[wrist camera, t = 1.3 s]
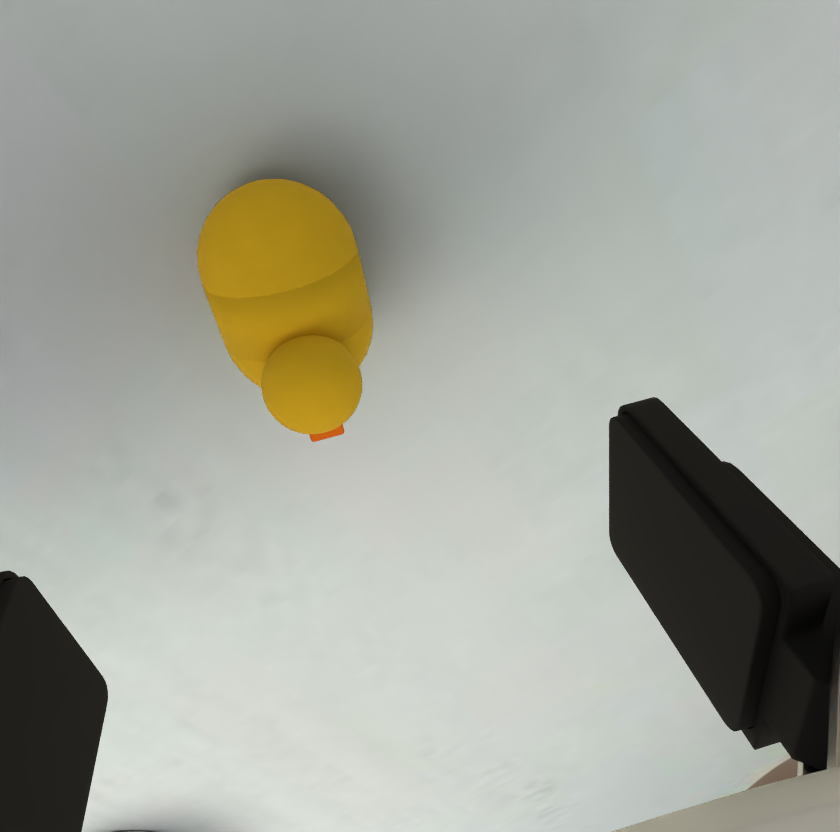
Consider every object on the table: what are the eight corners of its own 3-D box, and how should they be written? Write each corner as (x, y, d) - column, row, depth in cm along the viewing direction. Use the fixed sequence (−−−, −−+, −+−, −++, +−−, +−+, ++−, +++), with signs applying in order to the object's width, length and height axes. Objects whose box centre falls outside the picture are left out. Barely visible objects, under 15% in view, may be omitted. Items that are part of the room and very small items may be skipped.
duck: (178, 182, 20) (156, 251, 14) (328, 147, 20) (361, 202, 15) (249, 374, 23) (252, 485, 18) (374, 342, 24) (412, 441, 19)
